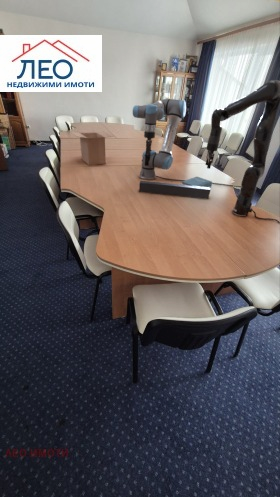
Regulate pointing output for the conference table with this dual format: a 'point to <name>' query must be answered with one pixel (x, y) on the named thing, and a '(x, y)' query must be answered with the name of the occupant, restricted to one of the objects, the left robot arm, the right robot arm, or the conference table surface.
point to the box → (92, 146)
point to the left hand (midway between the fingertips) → (147, 163)
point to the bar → (174, 189)
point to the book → (197, 182)
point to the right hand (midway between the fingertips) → (207, 166)
